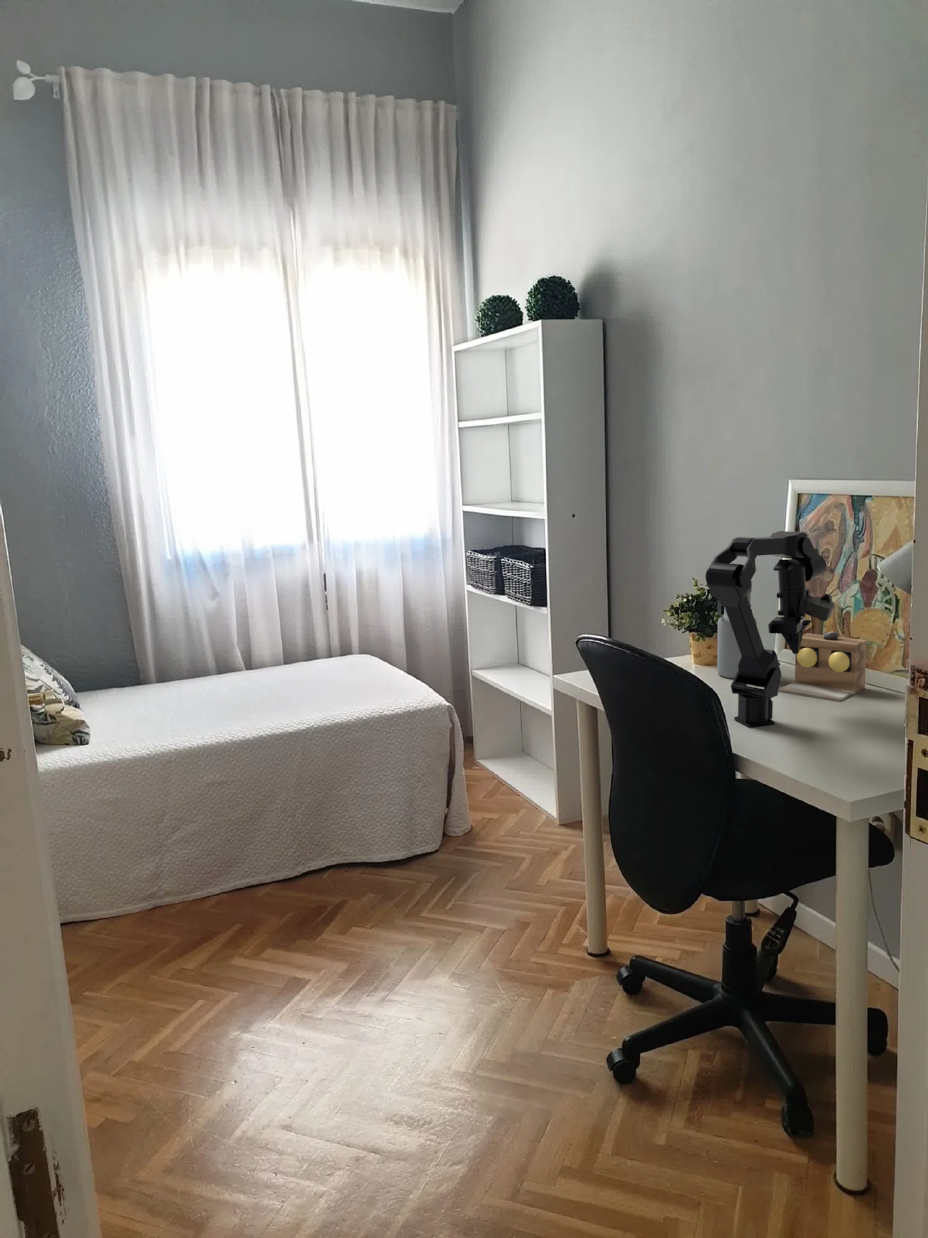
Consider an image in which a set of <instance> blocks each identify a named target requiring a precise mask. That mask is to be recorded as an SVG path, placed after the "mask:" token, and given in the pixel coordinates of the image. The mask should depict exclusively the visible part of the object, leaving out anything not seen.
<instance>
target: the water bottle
mask: <svg viewBox="0 0 928 1238" xmlns="http://www.w3.org/2000/svg"><path fill="white" fill-rule="evenodd" d="M752 584H753V581H752V580H751V588H750V590H749V593H748V595H747V598H748V601H749V604H750V605H752V604H751V595H752V594H751V593H752V592H753V590H752V589H753V588H752V587H753V585H752ZM723 608H724V610H723V612H724V613H723V615H721V611H722V603H721V602H720V601H719V600H718V599H717V616H720V615H721V616H720V617H719V618H718V620H717V647H716V649H717V653H716V654H717V656H716V657H717V658H716V659H717V663H716V665H717V668H716V671H717V674H718V675H719V676H721V678H722V677H723V678H727V679H732V680H734V678H735V676H736V674H737V672H738V664H739V661H740V659H741V653H740V650H739V647H738V644H737V641H736V639H735V636H734V633H733V630H732V627H731V624H730V621H729V618H728V615H727V613H726V610H725V607H724V606H723ZM754 619H755V622H756V625H757V626H758V624H757V623H758V622H757V619H756V618H755V617H754Z"/></svg>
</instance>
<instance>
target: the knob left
mask: <svg viewBox="0 0 928 1238" xmlns="http://www.w3.org/2000/svg"><path fill="white" fill-rule="evenodd" d="M797 660H798V662H799V664H800V665H801V666H803V667H806V668H809V667H812V666H814V665H815V664H816V663H818V662H819V648H812V647H809V648H803V649H801V650H800V651H799V653H798V654H797Z"/></svg>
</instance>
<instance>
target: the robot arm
mask: <svg viewBox="0 0 928 1238" xmlns="http://www.w3.org/2000/svg"><path fill="white" fill-rule="evenodd" d="M808 536H809V535H808V533H806V532H804V531H783V530H778V531H775V532H773V533H771V535H770V536H761V537H759V536H758V537H743V536H742V537H741V536H740V537H739V536H737V537H734V538H733V539H732V540H731V542H730V543H729V545H728V546H727V547H726V548H725V549H723V550H722V551H721V552H719V553H718V554H716V555H715V557H714V558H713V559H712V561H711V563H710V565H709V566H708V568H707V569H706V573H705V583H706V585H707V588H708V589H709V591H710V593H711V594H712V596H713V597H714V598H715V599H717V601H718V600H719V601H720V602H721V605H723V608H724V607H725V610H726V613H727V615H728V618H729V621H730V624H731V627H732V630H733V633H734V636H735V639H736V641H737V644H738V647H739V650H740V653H741V659H740V661H739V664H738V672H737V674H736V676H735V678H734V679H732V682H731V684H730V689H731V694H733V695H735V694H736V695H737V696H738V697H737V716H734V717H733V719H734V720H735V721H737V722H739V723H740V724H743V725H744V726H746V727H749V728H750V727H752V728H753V727H758V726H759V727H760V726H765V725H766V726H767V725H774V724H776V721H775V720H773V707H774V704H773V703H774V701H773V700H772V698H775V697H777V696H778V694H779V689H780V684H781V680H782V671H781V667H780V666H781V663H780V662H779V659H778V653H777V652H776V651H775V650H772V649H768V648H767V649H766V648H765V646H764V644H763V641H762V638H761V634H760V632H759V628H758V624H757V625H756V622H755V619H756V618H755V617H754V614H753V611H752V608H751V604H749V601H748V598H747V595H748V593H749V590H750V588H751V581H752V579H753V577H754V575H755V574H756V572H757V567H756V560H757V559H756V558H757V557H759V556H774V557H779V558H781V559H778V562H777V563H776V564H775V565H774V567H773V571H777V574H778V592H777V593H776V599H779V608H780V609H779V610H777V616H776V617H774V618H773V619H772V620H771V621H770V622H769V623H768V624H767V625H768V626H767V627H768V629H767V630H768V633H769V634H780V635H781V636H782V637H783V638H784V641H785V642H786V643H787V645H788V647H789V648H790V651H791V652H792V654H795V655H796V654H798V653H799V650H800V645H801V641H802V636H803V635H804V631H805V630H806V628H807V627H808V626H809V625H810V624H811V623H812V620H811V619H806V615H807V616H810V617H812V618H816V619H818V620H819V621H822V622H828V620H829V619H830V618H831V616H832V613H833V610H834V609H835V607H836V606H835V602H834V601H833V597H832V595H830V594H828V593H823V595H822V596H820V597H819V596H816V597H815V596H811V590H810V588H807V583H808V582H809V581H811V580H814V579H815V578H818V577H820V576H822V575H824V573H825V572H826V571H827V562H826V560H825V558H824V557H823V556H822V555H821V554H820V553H819V550H818V548H815V547H814V545H813V543H812V540H811V539H810V537H808ZM738 557H743V558H744V557H745V558H747V560H746V562H745V563H744V564H740V563H732V562H734V561H735V560H737V558H738ZM782 558H783V559H782ZM754 618H755V619H754ZM749 685H750V686H749Z"/></svg>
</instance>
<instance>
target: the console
mask: <svg viewBox="0 0 928 1238" xmlns="http://www.w3.org/2000/svg"><path fill="white" fill-rule="evenodd" d="M867 642H868V641H867V640H866V639H858V638H849V637H841V636H839V633H838V632H835V631H832V630H831V631H825V632H823V634H815V633H808V632H807V633H803V636H802V641H801V645H800V650H801V649H803V648H809V647H812V648H819V662H818V663H816V664H815V665H814V666H812V667H809V668H806V667H803V666H801V665H800V664H799V662H798V660H797V654H795V658H794V659H795V661H794V666H795V667H794V682H791V683H789V684H787V685H785V686H783V687H781V688H780V687H779V690H778V693H784V694H785V693H786V694H792V695H797V696H804V697H811V698H816V699H820V700H821V699H822V700H827V701H828V700H829V701H835V702H841V701H843V700H845V699H846V698H849V697H851V696H853V695H854V694H855V695H856V694H857V693H859V692H861V691H863V690H864V689H866V667H867V666H866V665H867ZM800 650H799V651H800ZM841 651H844V652H851V667H849V668H848V669H847V670H845V671H843V672H836V671H834V670H832V669H831V667H830V666H829V657H830V656H831V655H832V654H833V653H835V652H841ZM862 689H863V690H862Z"/></svg>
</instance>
